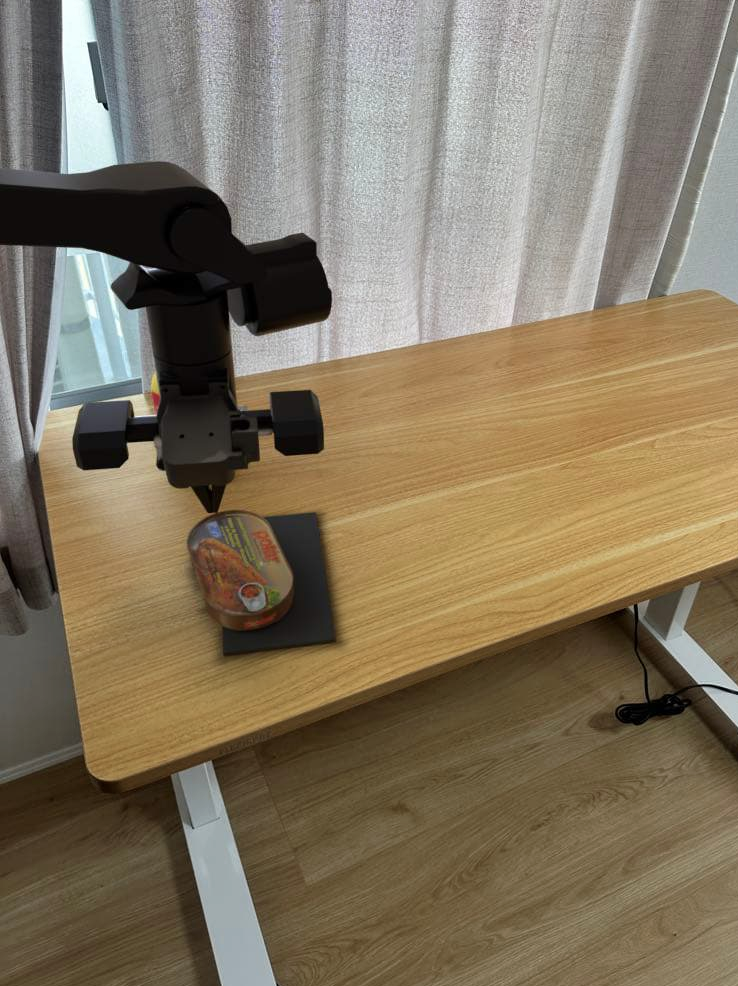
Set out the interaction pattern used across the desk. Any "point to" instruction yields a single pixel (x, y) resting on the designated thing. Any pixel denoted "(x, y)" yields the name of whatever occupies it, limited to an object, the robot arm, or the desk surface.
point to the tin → (240, 570)
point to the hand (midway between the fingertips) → (212, 510)
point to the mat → (310, 599)
